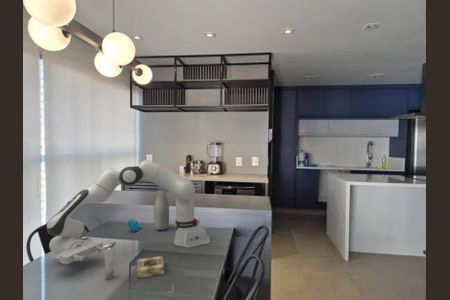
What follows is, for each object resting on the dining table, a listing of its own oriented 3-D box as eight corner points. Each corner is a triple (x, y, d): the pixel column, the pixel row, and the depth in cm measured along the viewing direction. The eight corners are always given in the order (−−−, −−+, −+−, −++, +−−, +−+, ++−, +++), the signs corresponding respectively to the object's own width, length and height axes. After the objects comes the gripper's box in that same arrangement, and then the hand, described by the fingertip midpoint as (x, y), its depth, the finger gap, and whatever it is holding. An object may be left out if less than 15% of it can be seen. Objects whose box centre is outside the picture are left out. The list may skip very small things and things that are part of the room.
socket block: (162, 262, 133) (162, 255, 133) (164, 273, 122) (164, 266, 121) (137, 266, 129) (137, 259, 129) (137, 278, 118) (137, 270, 118)
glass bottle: (164, 226, 190) (163, 188, 189) (171, 229, 182) (171, 190, 181) (151, 229, 183) (151, 190, 182) (159, 233, 175) (158, 192, 174)
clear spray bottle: (113, 272, 123) (112, 240, 122) (119, 274, 121) (118, 242, 121) (99, 280, 116) (99, 246, 116) (105, 282, 115) (105, 248, 114)
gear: (132, 231, 174) (125, 219, 178) (127, 237, 175) (121, 224, 179) (144, 229, 183) (138, 217, 187) (139, 234, 185) (133, 222, 189)
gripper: (52, 250, 121) (71, 256, 114) (92, 236, 139) (110, 240, 133) (52, 264, 121) (71, 270, 115) (92, 247, 139) (110, 252, 133)
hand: (92, 254), depth 124 cm, fingers open, 8 cm apart
